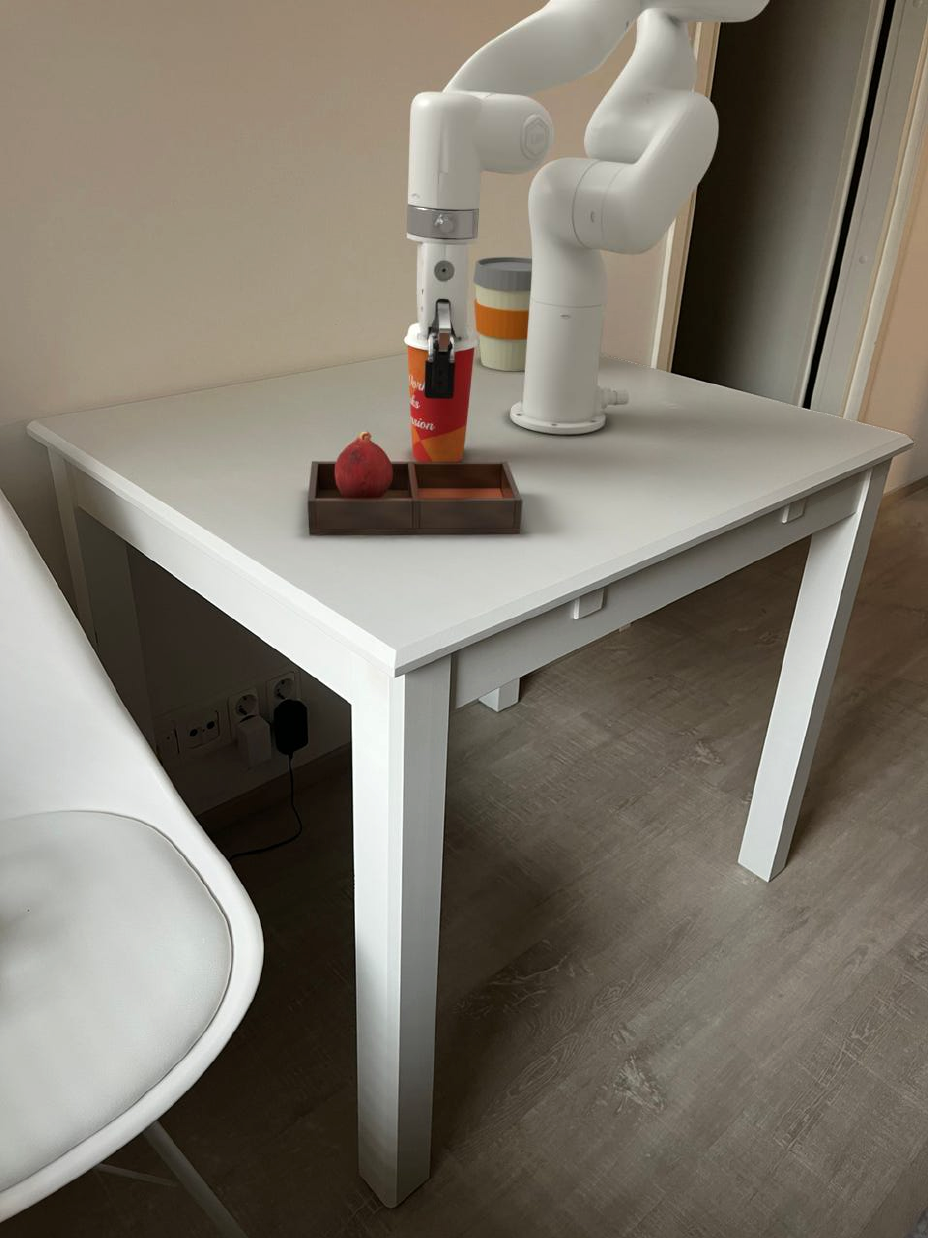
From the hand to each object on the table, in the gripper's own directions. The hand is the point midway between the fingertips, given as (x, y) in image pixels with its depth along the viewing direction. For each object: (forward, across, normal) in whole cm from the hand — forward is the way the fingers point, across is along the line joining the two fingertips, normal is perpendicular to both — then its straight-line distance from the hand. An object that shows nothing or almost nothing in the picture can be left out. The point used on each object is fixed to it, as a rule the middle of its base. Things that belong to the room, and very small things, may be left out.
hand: (435, 385), depth 110 cm
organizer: (+9, -16, +3) cm, 19 cm away
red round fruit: (+9, -16, +8) cm, 20 cm away
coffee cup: (+9, +1, -1) cm, 9 cm away
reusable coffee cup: (+8, +43, -15) cm, 46 cm away
